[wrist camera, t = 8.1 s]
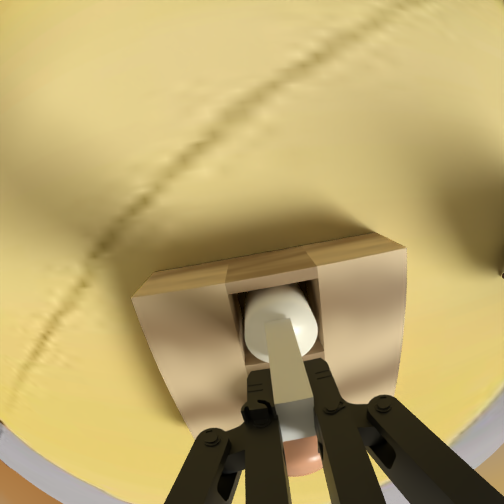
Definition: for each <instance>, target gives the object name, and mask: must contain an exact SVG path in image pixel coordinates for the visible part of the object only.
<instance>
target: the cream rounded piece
mask: <svg viewBox="0 0 504 504" xmlns="http://www.w3.org/2000/svg"><path fill="white" fill-rule="evenodd" d="M287 318H290V320H291V323H292V326H293V329H294V333H295V336H296V339H297V343H298V346H299V349H300V353H301V356H304V355H305V354H306V353H307V352H308V351H309V350H310V349H311V348H312V346H313V345H314V343H315V341H316V338H317V333H318V327H317V323H316V320H315V318H314V316H313V313H312V311H311V309H310V307H309V305H308V303H307V300H306V298H305V296H304V294H303V292H302V290H301V288H300V287H299V285H298V284H297V283H290V284H285V285H280V286H274V287H269V288H263V289H258V290H252V291H248V292H247V294H246V298H245V342H246V345H247V347H248V349H249V351H250V352H251V353H252V354H253V355H254V356H255V357H257V358H258V359H260V360H262V361H264V362H268V363H269V356H268V348H267V340H266V332H265V324H264V323H265V322H271V321H276V320H282V319H287Z"/></svg>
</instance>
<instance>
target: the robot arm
mask: <svg viewBox="0 0 504 504" xmlns="http://www.w3.org/2000/svg"><path fill="white" fill-rule="evenodd" d="M264 324H265V332H266V340H267V348H268V356H269V364H270V368H268V369H262V370H255V371H251V372H250V374H249V375H248V377H247V402H245V404H244V405H243V406H242V408H241V414H242V417H243V420H244V422H243V423H242V424H241V425H240V426H238V427H236V428H234V429H231V430H228V431H224V430H223V429H220V428H209V429H205V430H204V431H202V432H201V433H199V435H198V436H197V437H196V440H195V442H194V444H193V446H192V448H191V450H190V452H189V454H188V456H187V458H186V460H185V462H184V464H183V466H182V468H181V471H180V473H179V475H178V477H177V479H176V481H175V483H174V485H173V487H172V489H171V491H170V493H169V495H168V497H167V499H166V501H165V503H164V504H231V503H232V500H233V497H234V494H235V491H236V488H237V485H238V482H239V479H240V475H241V472H242V470H244V469H245V489H246V504H292V502H291V494H290V487H289V480H288V472H287V465H286V458H285V451H284V446H283V442H284V441H290V440H296V439H301V438H306V437H311V436H316V435H317V441H318V453H320V457H321V461H322V465H323V469H324V473H325V478H326V482H327V486H328V490H329V495H330V499H331V503H332V504H386V502H385V499H384V496H383V493H382V491H381V488H380V485H379V483H378V480H377V477H376V475H375V472H374V469H373V467H372V464H371V461H370V459H369V456H368V454H367V452H368V453H369V454H370V455H371V457H372V458H373V459H374V460H375V462H376V463H377V464H378V465H379V466H380V468H381V469H382V470H383V471H384V473H385V474H386V475H387V476H388V478H389V479H390V480H391V481H392V482H393V484H394V485H395V486H396V487H397V488H398V490H399V491H400V492H401V493H402V494H403V496H404V497H405V498H406V499H407V500H408V501H409V503H410V504H504V496H503V495H501V494H500V493H499V492H498V491H497V490H496V489H495V488H494V487H492V486H491V485H490V484H489V483H488V482H487V481H486V480H485V479H484V478H482V477H481V476H480V475H479V474H478V473H477V472H476V471H475V470H474V469H472V468H471V467H470V466H469V465H468V464H467V463H466V462H465V461H464V460H463V459H461V458H460V457H459V456H458V455H457V454H456V453H455V452H454V451H453V450H452V449H450V448H449V447H448V446H447V445H446V444H445V443H444V442H443V441H442V440H441V439H440V438H438V437H437V436H436V435H435V434H434V433H433V432H432V431H431V430H430V429H429V428H428V427H426V426H425V425H424V424H423V423H422V422H421V421H420V420H419V419H418V418H417V417H416V416H415V415H413V414H412V413H411V412H410V411H409V410H408V409H407V408H406V407H405V406H404V405H403V404H402V403H401V402H399V401H398V400H397V399H396V398H395V397H393V396H391V395H378V396H376V397H374V398H373V399H371V400H370V402H369V403H368V404H352V403H349V402H347V401H345V400H344V399H343V398H342V397H341V395H340V392H339V390H338V387H337V385H336V383H335V380H334V378H333V376H332V373H331V371H330V368H329V365H328V363H327V362H326V361H325V360H323V359H322V358H316V359H312V360H307V361H303V359H302V356H301V353H300V349H299V346H298V343H297V339H296V336H295V333H294V329H293V326H292V323H291V320H290V318H287V319H282V320H276V321H271V322H265V323H264ZM366 450H367V451H366Z"/></svg>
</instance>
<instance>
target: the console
mask: <svg viewBox="0 0 504 504" xmlns="http://www.w3.org/2000/svg"><path fill="white" fill-rule="evenodd" d="M301 281H306V286H307V294H308V303H309V307H310V309H311V311H312V313H313V316H314V318H315V320H316V323H317V327H318V333H317V338H316V341H315V343H314V345H313V346H312V348H311V349H310V350H309V351H308V352H307V353H306V354H305V355H304V356H302V359H303V361H307V360H312V359H316V358H322V359H323V360H325V361H326V362H327V363H328V365H329V368H330V371H331V373H332V376H333V378H334V380H335V383H336V385H337V387H338V390H339V392H340V395H341V397H342V398H343V399H344V400H345V401H347V402H349V403H352V404H368V403H369V402H370V400H371V399H373V398H374V397H376V396H378V395H391V396H393V397H394V393H395V388H396V382H397V377H398V370H399V364H400V357H401V349H402V341H403V332H404V321H405V307H406V288H407V248H406V247H404V246H402V245H400V244H398V243H396V242H394V241H392V240H390V239H388V238H386V237H384V236H382V235H380V234H378V233H376V232H374V233H369V234H363V235H358V236H352V237H347V238H341V239H336V240H330V241H325V242H320V243H314V244H309V245H303V246H298V247H292V248H287V249H281V250H276V251H270V252H264V253H259V254H253V255H248V256H242V257H237V258H231V259H226V260H220V261H215V262H209V263H203V264H198V265H192V266H187V267H181V268H175V269H170V270H164V271H159V272H154V273H153V274H152V275H151V276H150V277H149V278H148V279H147V280H146V281H145V283H144V284H143V285H142V286H141V287H140V288H139V289H138V290H137V291H136V293H135V294H134V295H133V296H132V297H131V300H132V303H133V306H134V308H135V311H136V314H137V317H138V319H139V322H140V325H141V327H142V330H143V333H144V335H145V338H146V340H147V343H148V345H149V347H150V350H151V352H152V355H153V357H154V359H155V362H156V364H157V366H158V368H159V371H160V373H161V375H162V377H163V379H164V381H165V384H166V386H167V388H168V390H169V392H170V394H171V396H172V398H173V400H174V402H175V404H176V406H177V408H178V410H179V412H180V414H181V416H182V417H183V419H184V421H185V423H186V425H187V427H188V428H189V430H190V432H191V434H192V436H193V437H194V439H195V440H196V437H197V436H198V435H199V433H201V432H202V431H204V430H205V429H209V428H220V429H223V430H224V431H228V430H231V429H234V428H236V427H238V426H240V425H241V424H242V423H243V422H244V420H243V417H242V414H241V408H242V406H243V405H244V404H245V402H247V377H248V375H249V374H250V372H251V371H255V370H262V369H268V368H270V364H269V363H268V362H264V361H262V360H260V359H258V358H257V357H255V356H254V355H253V354H252V353H251V352H250V351H249V349H248V347H247V345H246V342H245V326H244V322H243V317H242V313H241V308H240V304H239V299H238V295H237V293H240V292H246V291H252V290H258V289H263V288H269V287H274V286H280V285H285V284H290V283H296V282H301Z"/></svg>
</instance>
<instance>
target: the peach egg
mask: <svg viewBox="0 0 504 504" xmlns="http://www.w3.org/2000/svg"><path fill="white" fill-rule="evenodd" d="M283 446H284V451H285V458H286V465H287V472H288V476H290V477H296V476H304V475H308V474H311V473H314V472H316V471H318V470H320V469H321V468H323V465H322V461H321V457H320V453H318V441H317V435H316V436H311V437H306V438H301V439H296V440H290V441H284V442H283Z"/></svg>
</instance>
